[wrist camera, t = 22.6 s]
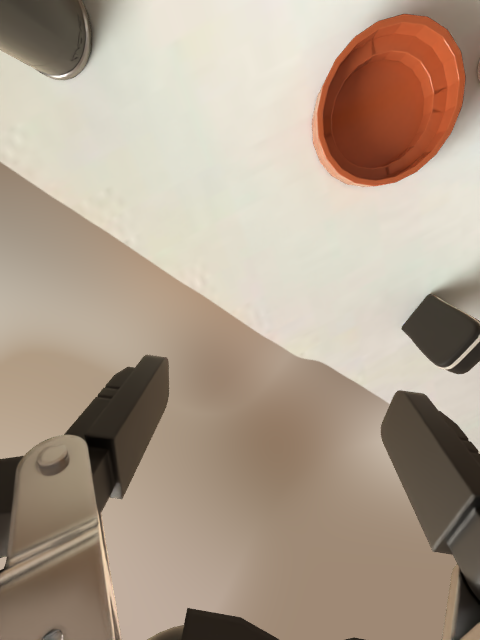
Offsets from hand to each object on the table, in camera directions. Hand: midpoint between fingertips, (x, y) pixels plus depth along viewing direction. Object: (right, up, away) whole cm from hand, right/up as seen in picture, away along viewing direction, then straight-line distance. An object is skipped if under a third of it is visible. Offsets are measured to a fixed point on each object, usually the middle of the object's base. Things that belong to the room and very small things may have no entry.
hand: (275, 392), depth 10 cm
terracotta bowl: (+15, +26, +23) cm, 38 cm away
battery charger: (+27, +3, +32) cm, 42 cm away
